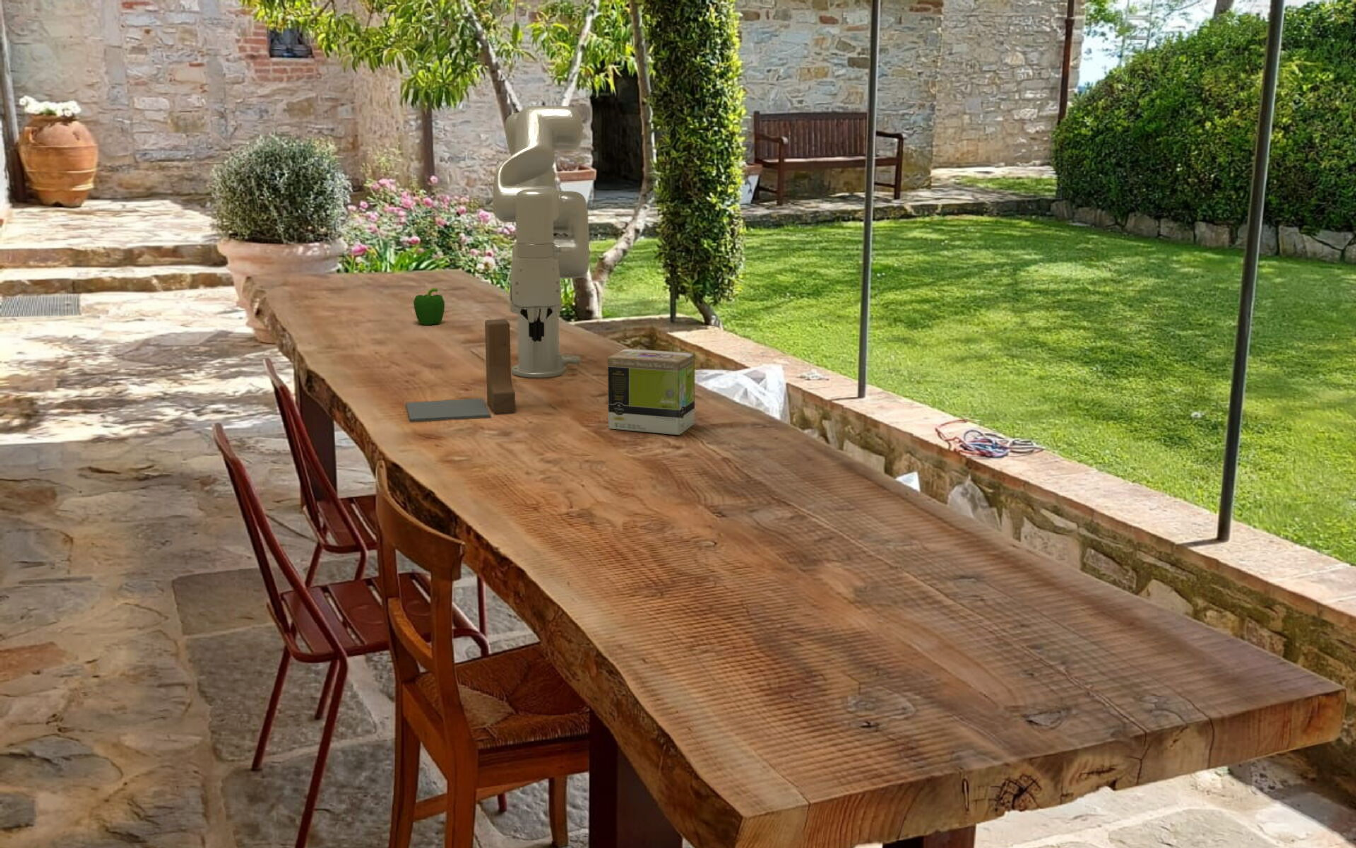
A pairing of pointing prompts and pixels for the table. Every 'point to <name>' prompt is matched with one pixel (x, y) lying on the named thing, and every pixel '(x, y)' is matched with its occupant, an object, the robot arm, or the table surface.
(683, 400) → the tea box
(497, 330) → the wooden block
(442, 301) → the bell pepper
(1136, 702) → the table surface
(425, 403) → the mat
